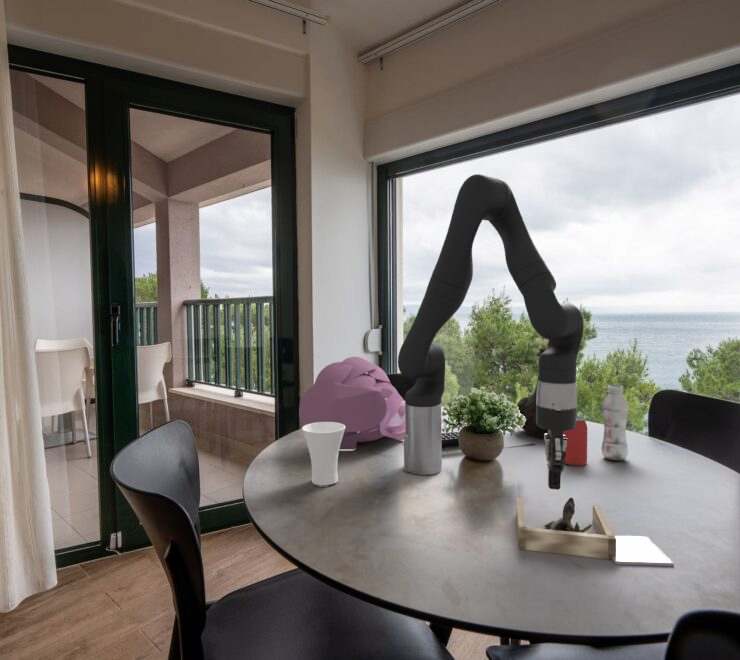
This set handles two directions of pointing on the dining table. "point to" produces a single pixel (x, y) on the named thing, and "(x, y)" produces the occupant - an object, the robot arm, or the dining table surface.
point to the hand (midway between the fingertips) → (554, 487)
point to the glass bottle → (531, 412)
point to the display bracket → (568, 537)
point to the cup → (324, 450)
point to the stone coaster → (639, 552)
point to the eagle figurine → (566, 520)
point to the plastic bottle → (615, 424)
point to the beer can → (576, 443)
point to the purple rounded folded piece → (355, 402)
